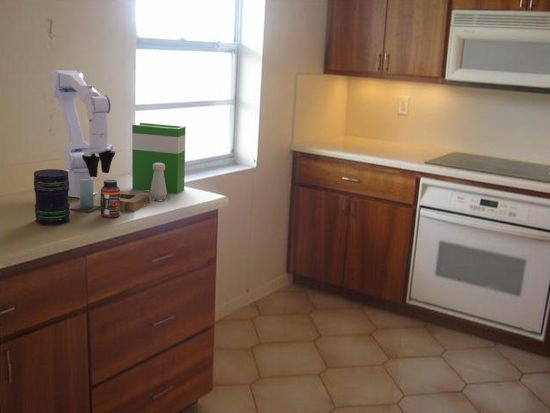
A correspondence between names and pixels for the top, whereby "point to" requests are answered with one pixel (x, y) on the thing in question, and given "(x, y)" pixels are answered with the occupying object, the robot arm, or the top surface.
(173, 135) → the green cereal box
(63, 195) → the storage jar
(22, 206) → the top surface
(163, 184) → the salt shaker
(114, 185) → the supplement bottle
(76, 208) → the mat
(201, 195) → the top surface
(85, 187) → the peg
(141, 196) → the holder
